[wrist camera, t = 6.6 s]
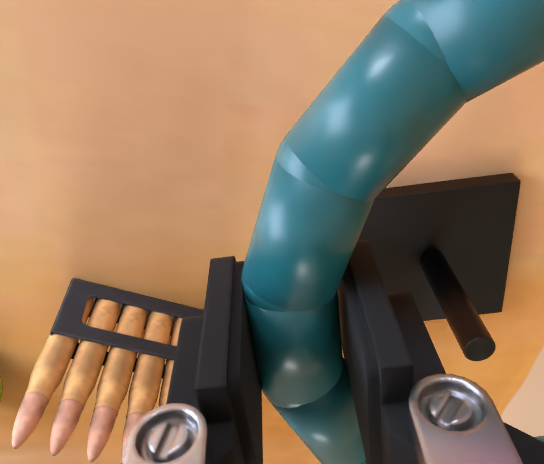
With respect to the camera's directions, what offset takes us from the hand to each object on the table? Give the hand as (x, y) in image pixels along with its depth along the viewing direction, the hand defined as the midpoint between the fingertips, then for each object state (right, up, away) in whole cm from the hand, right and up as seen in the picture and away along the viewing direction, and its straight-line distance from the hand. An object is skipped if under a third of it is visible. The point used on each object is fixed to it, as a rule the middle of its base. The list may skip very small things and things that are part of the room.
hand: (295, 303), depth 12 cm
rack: (+10, 0, +22) cm, 24 cm away
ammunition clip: (-9, -3, +24) cm, 25 cm away
